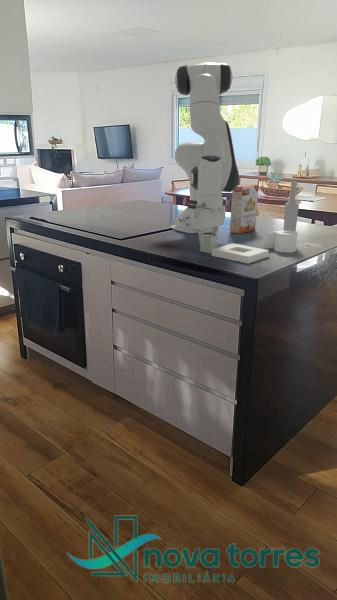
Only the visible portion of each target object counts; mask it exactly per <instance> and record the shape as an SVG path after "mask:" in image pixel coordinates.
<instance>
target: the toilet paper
mask: <svg viewBox="0 0 337 600" xmlns="http://www.w3.org/2000/svg"><path fill="white" fill-rule="evenodd" d="M298 235H299V234H298V232H297V231H296V232H295V231H287V230H284V229H282V230H276V231H271V232H268V233H266V234H265V239H264V243H263V248H262V249H265V250H268V249H273V250H274V251H275V252H277V253H278V252H279V253H284V252H286V253H290V254H291V253H295V252H297V245H298V244H297V243H298ZM286 253H285V254H286Z"/></svg>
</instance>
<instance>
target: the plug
mask: <svg viewBox="0 0 337 600" xmlns="http://www.w3.org/2000/svg"><path fill="white" fill-rule="evenodd" d="M204 237H205V242H200V241H199V244H200V245H199V247H200V248H199V252H202V253H206V254H212V249H214V248H218V238H219V237H218V235H217V236H214V235H211V234H208V233H205V234H204Z"/></svg>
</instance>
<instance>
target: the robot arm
mask: <svg viewBox="0 0 337 600" xmlns="http://www.w3.org/2000/svg"><path fill="white" fill-rule="evenodd" d="M174 76H175V77H174V84H175V87H176V89H177V92H178V93H179V94H180V95H184V96H188V95H189V119H190V120H189V121H190V129H191V130H192V131H193V133H195V134H196V135H199V136H200V137H201V138H203V140H204V141H202V142H201V141H199V142H198V141H197V142H196V141H195V142H194V141H189V142H184V143H179V144H178V145H177V146H176V149H175V151H174V159H175V162H176V164H177V165H178V166H179V167H180V169H182V170H183V171H184V172H185V174H186V175H187V178H188V181H189V190H190V191H189V192H190V194H189V196H190V197H189V200H185V204H187V206H186V208H185V209H183V210H182V211H181V212H180V213H179V214H177V215H176V218H175V224H172V225H171V226H170V229H171V228H172V230H174V231H178V232H182V233H186V234H197V235H198V242H199V243H200V242H205V237H204V235H205V234H208V233H210V235H214V236H218V232H219V229H220V228H219V227H220V226H222V225H224V224H225V221H226V220H225V219H226V211H227V210H226V206H227V203H228V201H227V199H225V198H224V197H223V193H232V191H233V190H234V189H235V188H236V187H237V186H239V185H240V174H239V169H238V166H237V160H236V156H235V150H234V145H233V144H234V143H233V138H232V133H231V130H230V129H231V128H230V125H229V123H228V121H227V120H225V119H224V118H223V115H222V114H221V110H220V99H219V98H220V96H219V95H223V94H224V93H227V92H228V91H229V90H230V89H231V86H232V84H233V83H232V82H233V78H234V77H233V71H232V69H231V66H230V65H229V63H225V62H220V63H217V62H203V63H196V64H195V63H194V64H188V65H187V64H184V65H181V66H179V67H178V68H177V69H176V73H175V75H174Z"/></svg>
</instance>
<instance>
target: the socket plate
mask: <svg viewBox="0 0 337 600" xmlns="http://www.w3.org/2000/svg"><path fill="white" fill-rule="evenodd" d="M269 254H270V250H269V249H263V248H259V247H253V246H249V245H243V244H239V243H229V244H225V245H222V246H219V247H218V246H217V248H214V249H212V253H211V256H212V257H216V258H222V259H225V260H230V261H235V262H238V261H239V262H238V263H243V264H251V263H254V262H257V261H261V260H263V259H266V258H269Z"/></svg>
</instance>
